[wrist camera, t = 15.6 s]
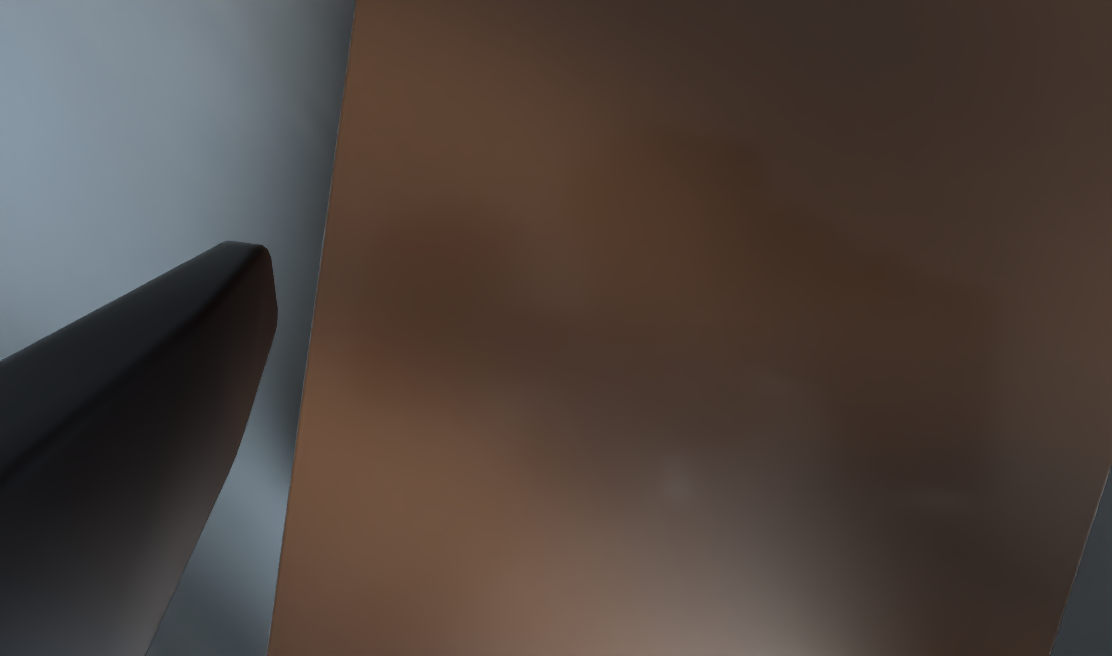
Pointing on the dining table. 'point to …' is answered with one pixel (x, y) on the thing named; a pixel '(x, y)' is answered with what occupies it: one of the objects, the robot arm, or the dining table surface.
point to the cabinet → (706, 331)
